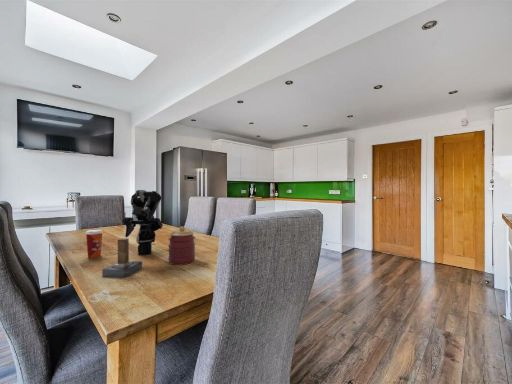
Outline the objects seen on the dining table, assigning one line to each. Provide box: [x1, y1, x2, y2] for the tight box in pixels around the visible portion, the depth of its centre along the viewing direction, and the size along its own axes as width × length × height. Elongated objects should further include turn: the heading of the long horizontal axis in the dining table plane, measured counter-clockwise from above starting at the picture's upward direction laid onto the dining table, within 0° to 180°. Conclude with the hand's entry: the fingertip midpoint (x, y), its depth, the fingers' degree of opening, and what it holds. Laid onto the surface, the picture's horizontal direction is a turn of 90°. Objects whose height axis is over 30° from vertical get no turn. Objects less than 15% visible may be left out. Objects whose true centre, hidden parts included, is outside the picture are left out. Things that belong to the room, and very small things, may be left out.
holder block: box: [101, 260, 143, 278], centre depth 104 cm, size 12×10×3 cm
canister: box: [168, 225, 196, 266], centre depth 120 cm, size 13×13×18 cm
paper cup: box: [85, 229, 104, 259], centre depth 127 cm, size 8×8×14 cm
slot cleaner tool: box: [114, 237, 133, 268], centre depth 104 cm, size 6×4×14 cm, turn 173°
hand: (135, 237), depth 112 cm, fingers open, 9 cm apart
